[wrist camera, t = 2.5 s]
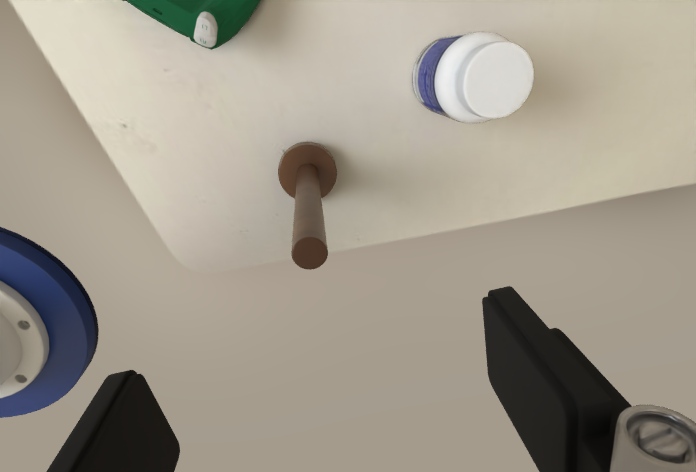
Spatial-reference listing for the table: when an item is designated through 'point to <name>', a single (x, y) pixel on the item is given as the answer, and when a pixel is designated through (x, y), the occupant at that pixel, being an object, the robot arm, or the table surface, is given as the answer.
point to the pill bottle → (473, 77)
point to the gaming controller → (201, 17)
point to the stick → (308, 199)
